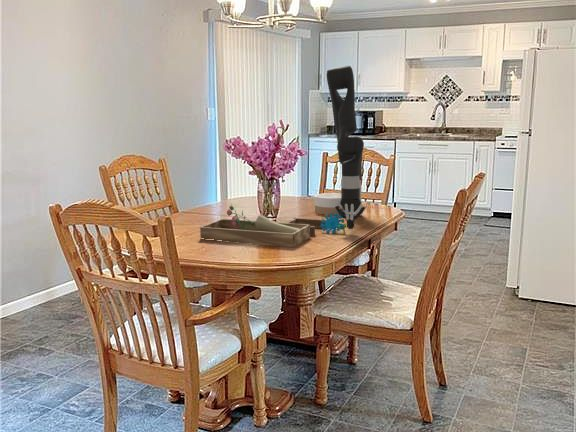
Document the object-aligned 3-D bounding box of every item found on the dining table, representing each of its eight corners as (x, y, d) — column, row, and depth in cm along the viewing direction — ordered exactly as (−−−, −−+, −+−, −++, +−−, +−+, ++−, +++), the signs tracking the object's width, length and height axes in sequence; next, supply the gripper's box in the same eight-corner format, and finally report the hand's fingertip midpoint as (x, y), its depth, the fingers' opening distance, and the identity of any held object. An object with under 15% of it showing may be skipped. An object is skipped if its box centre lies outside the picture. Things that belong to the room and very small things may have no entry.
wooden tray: (222, 230, 247) (221, 218, 246) (310, 236, 231) (310, 224, 230) (199, 239, 230) (199, 227, 229) (293, 247, 214) (293, 234, 214)
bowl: (350, 215, 277) (351, 198, 275) (315, 215, 277) (315, 198, 276) (348, 208, 294) (348, 192, 292) (314, 209, 294) (314, 193, 292)
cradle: (295, 225, 254) (295, 217, 253) (326, 227, 248) (326, 219, 248) (280, 233, 239) (280, 224, 238) (313, 235, 234) (313, 227, 233)
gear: (316, 228, 238) (326, 209, 242) (319, 236, 243) (329, 217, 247) (339, 235, 233) (349, 215, 237) (343, 242, 237) (352, 223, 241)
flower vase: (292, 261, 224) (216, 234, 237) (305, 245, 233) (232, 221, 246) (294, 236, 218) (216, 210, 230) (308, 221, 227) (232, 197, 240)
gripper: (368, 186, 233) (368, 227, 237) (337, 185, 238) (337, 226, 241) (364, 188, 227) (364, 231, 230) (332, 187, 232) (332, 229, 235)
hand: (350, 228), depth 236 cm, fingers closed
